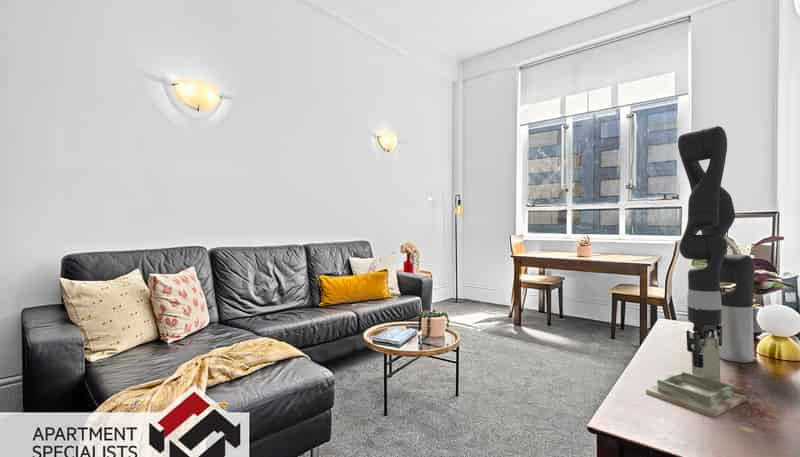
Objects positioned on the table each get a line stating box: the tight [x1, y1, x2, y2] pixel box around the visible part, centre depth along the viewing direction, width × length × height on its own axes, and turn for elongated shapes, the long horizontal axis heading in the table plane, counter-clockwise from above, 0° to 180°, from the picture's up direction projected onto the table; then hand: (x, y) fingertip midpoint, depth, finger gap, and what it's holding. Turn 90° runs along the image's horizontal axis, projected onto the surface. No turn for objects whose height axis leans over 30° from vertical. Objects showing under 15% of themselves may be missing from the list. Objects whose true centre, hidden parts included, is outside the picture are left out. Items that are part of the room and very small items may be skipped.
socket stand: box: [645, 370, 747, 418], centre depth 100 cm, size 16×15×4 cm
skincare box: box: [690, 337, 722, 383], centre depth 110 cm, size 6×4×12 cm
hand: (705, 364), depth 110 cm, fingers closed on skincare box, 7 cm apart
